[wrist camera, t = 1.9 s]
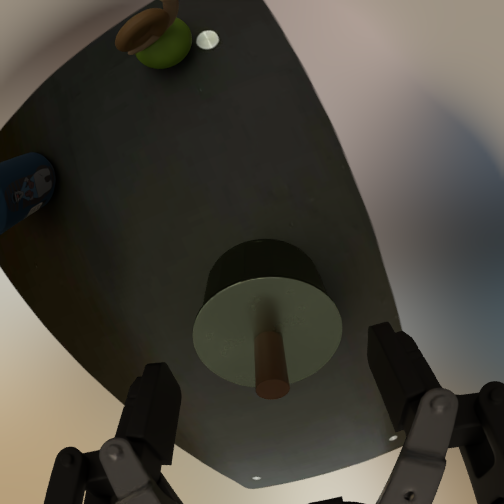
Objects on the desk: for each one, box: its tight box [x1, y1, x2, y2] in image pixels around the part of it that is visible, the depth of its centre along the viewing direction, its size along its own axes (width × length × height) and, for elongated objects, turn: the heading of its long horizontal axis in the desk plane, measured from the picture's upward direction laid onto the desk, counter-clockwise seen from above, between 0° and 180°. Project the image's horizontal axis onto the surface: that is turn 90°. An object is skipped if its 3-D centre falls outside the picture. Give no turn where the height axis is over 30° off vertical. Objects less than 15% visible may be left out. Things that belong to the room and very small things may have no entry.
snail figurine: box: [115, 0, 192, 69], centre depth 19 cm, size 5×6×12 cm
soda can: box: [0, 152, 56, 235], centre depth 24 cm, size 7×7×12 cm
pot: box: [203, 239, 327, 304], centre depth 33 cm, size 14×14×8 cm
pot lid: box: [193, 275, 342, 399], centre depth 26 cm, size 15×15×7 cm
